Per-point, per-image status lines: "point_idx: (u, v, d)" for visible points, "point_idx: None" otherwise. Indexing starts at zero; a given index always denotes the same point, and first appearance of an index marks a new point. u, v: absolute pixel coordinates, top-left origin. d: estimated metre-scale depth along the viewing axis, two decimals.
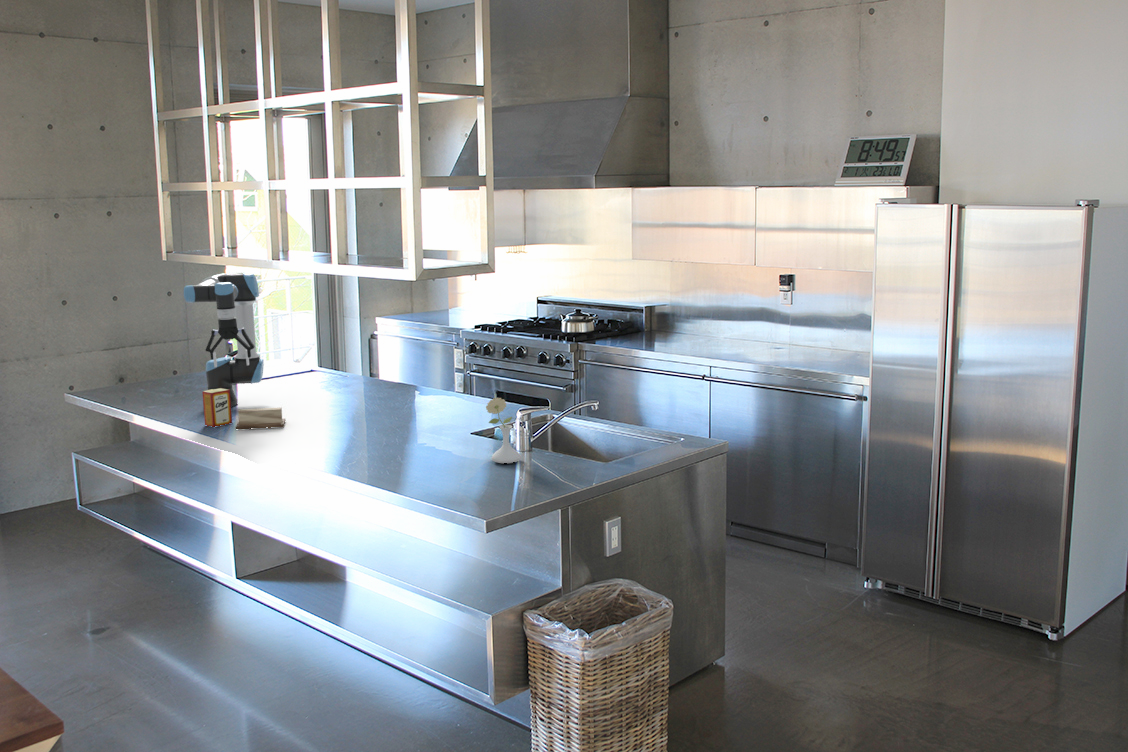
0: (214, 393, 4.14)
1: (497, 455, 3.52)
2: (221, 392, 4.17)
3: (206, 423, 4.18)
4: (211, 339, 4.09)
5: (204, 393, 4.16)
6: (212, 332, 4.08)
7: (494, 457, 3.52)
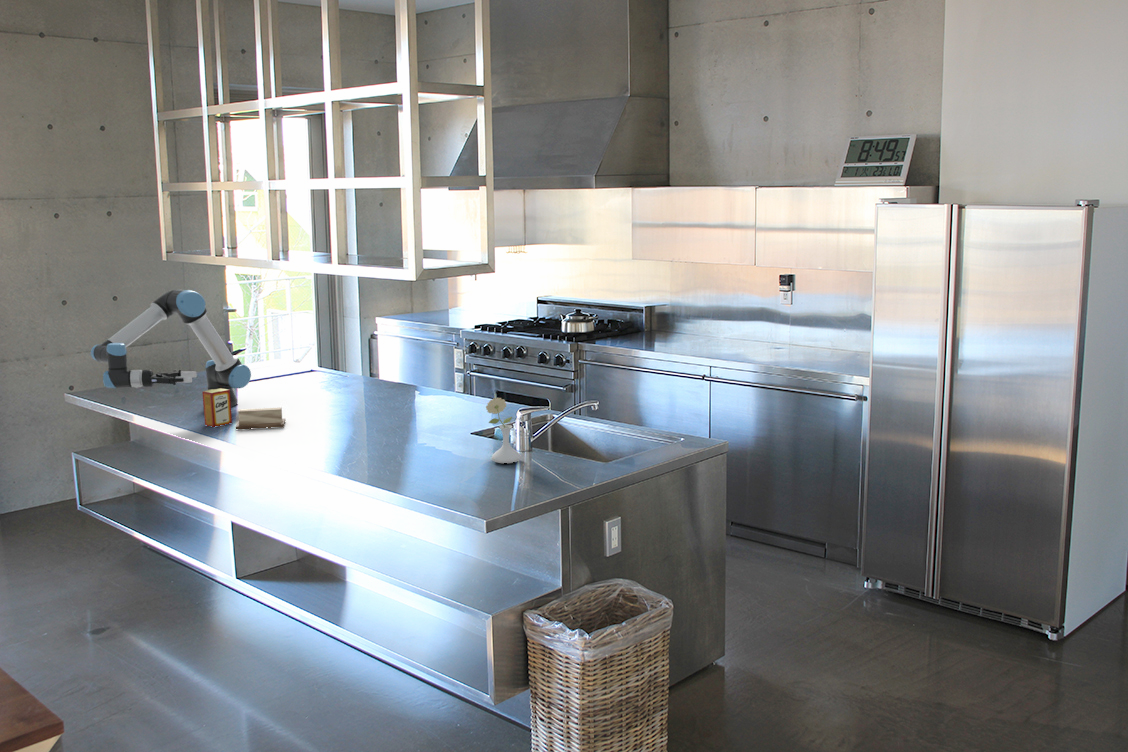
0: (214, 393, 4.14)
1: (497, 455, 3.52)
2: (221, 392, 4.17)
3: (206, 423, 4.18)
4: None
5: (204, 393, 4.16)
6: None
7: (494, 457, 3.52)
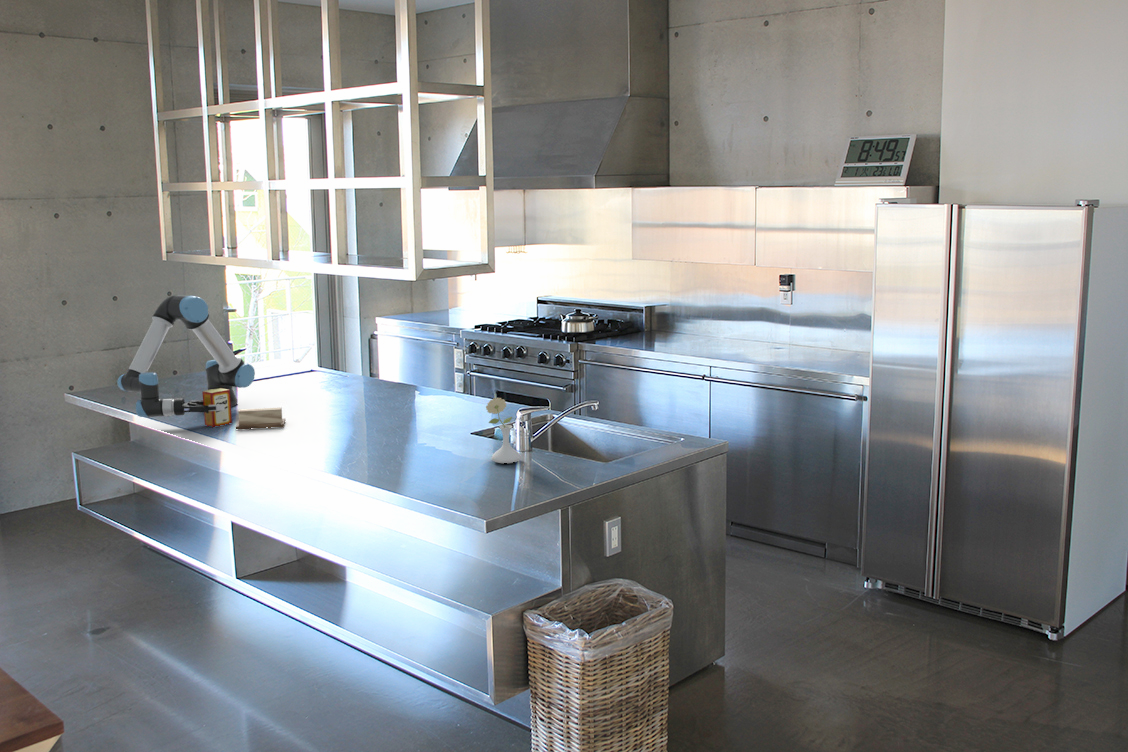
0: (214, 393, 4.14)
1: (497, 455, 3.52)
2: (221, 392, 4.17)
3: (206, 423, 4.18)
4: None
5: (204, 393, 4.16)
6: None
7: (494, 457, 3.52)
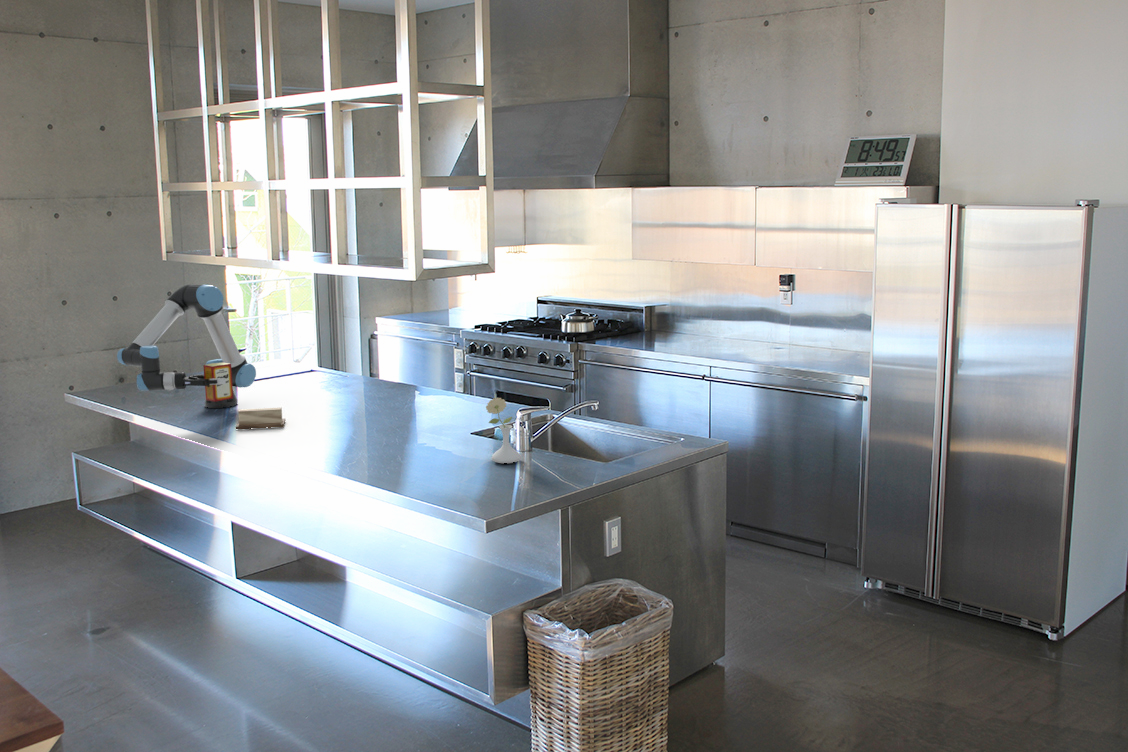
0: (215, 367, 4.11)
1: (497, 455, 3.52)
2: (222, 366, 4.14)
3: (207, 397, 4.15)
4: None
5: (205, 367, 4.13)
6: None
7: (494, 457, 3.52)
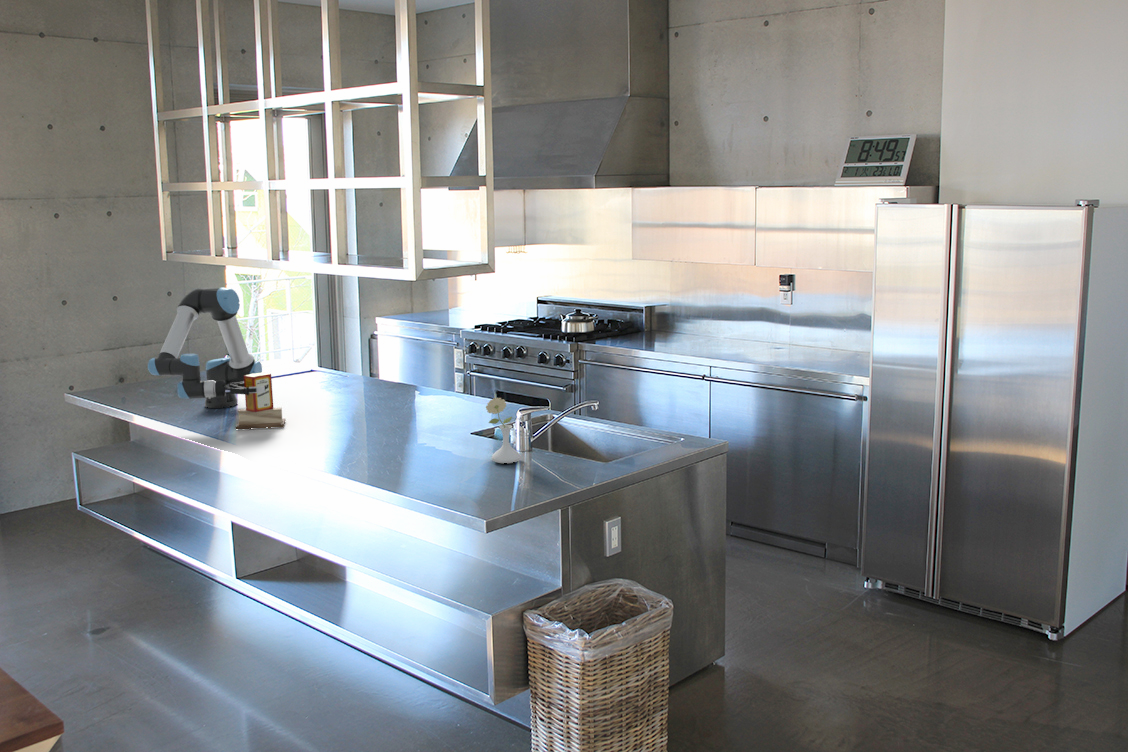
0: (256, 377, 4.10)
1: (497, 455, 3.52)
2: (262, 376, 4.13)
3: (247, 408, 4.14)
4: None
5: (245, 377, 4.11)
6: None
7: (494, 457, 3.52)
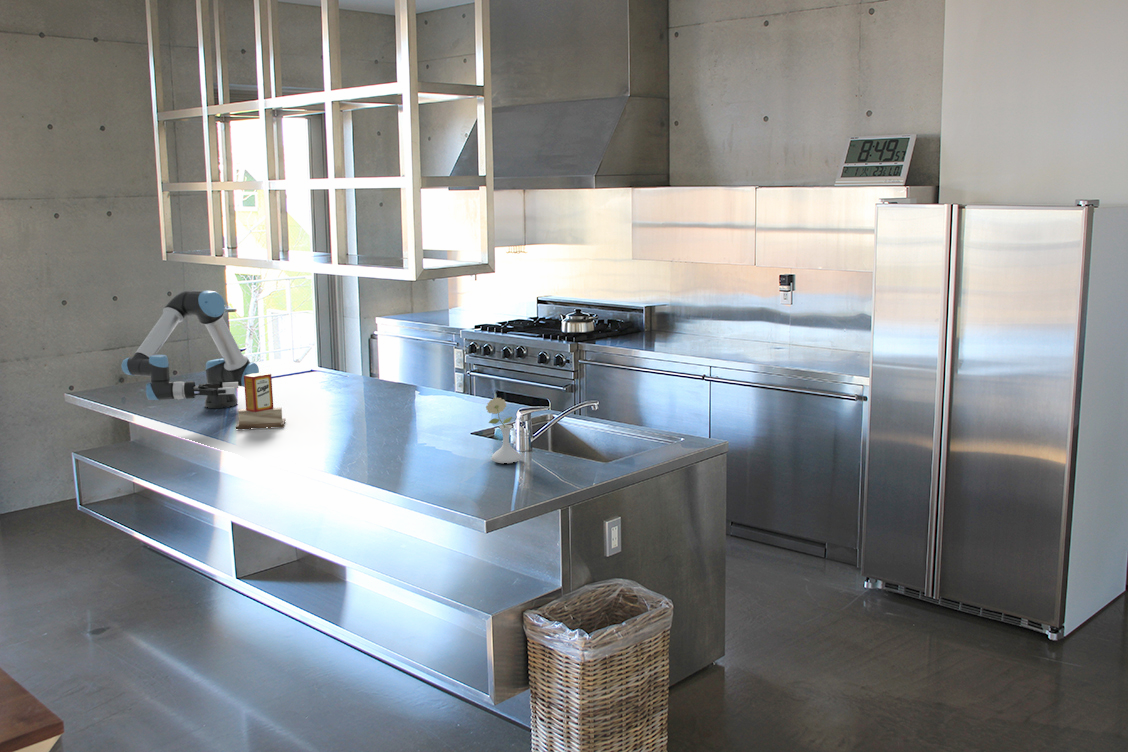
0: (256, 377, 4.10)
1: (497, 455, 3.52)
2: (263, 376, 4.13)
3: (247, 408, 4.14)
4: None
5: (246, 377, 4.12)
6: None
7: (494, 457, 3.52)
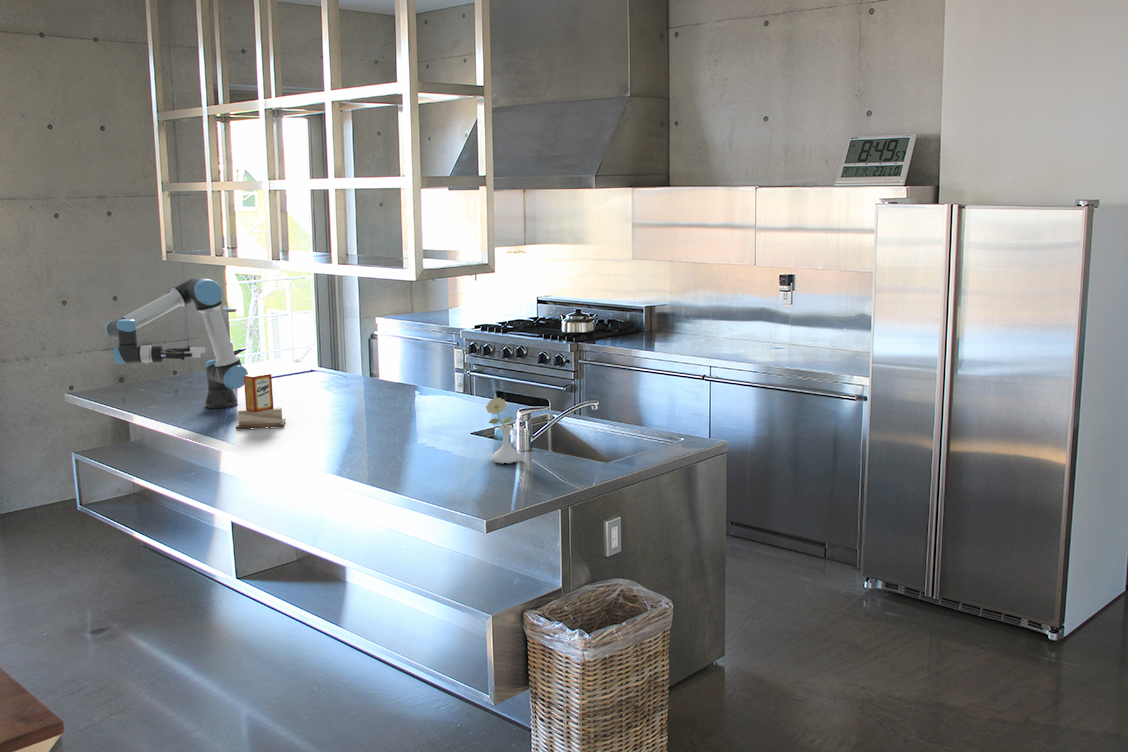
0: (256, 377, 4.10)
1: (497, 455, 3.52)
2: (263, 376, 4.13)
3: (247, 408, 4.14)
4: None
5: (246, 377, 4.12)
6: None
7: (494, 457, 3.52)
